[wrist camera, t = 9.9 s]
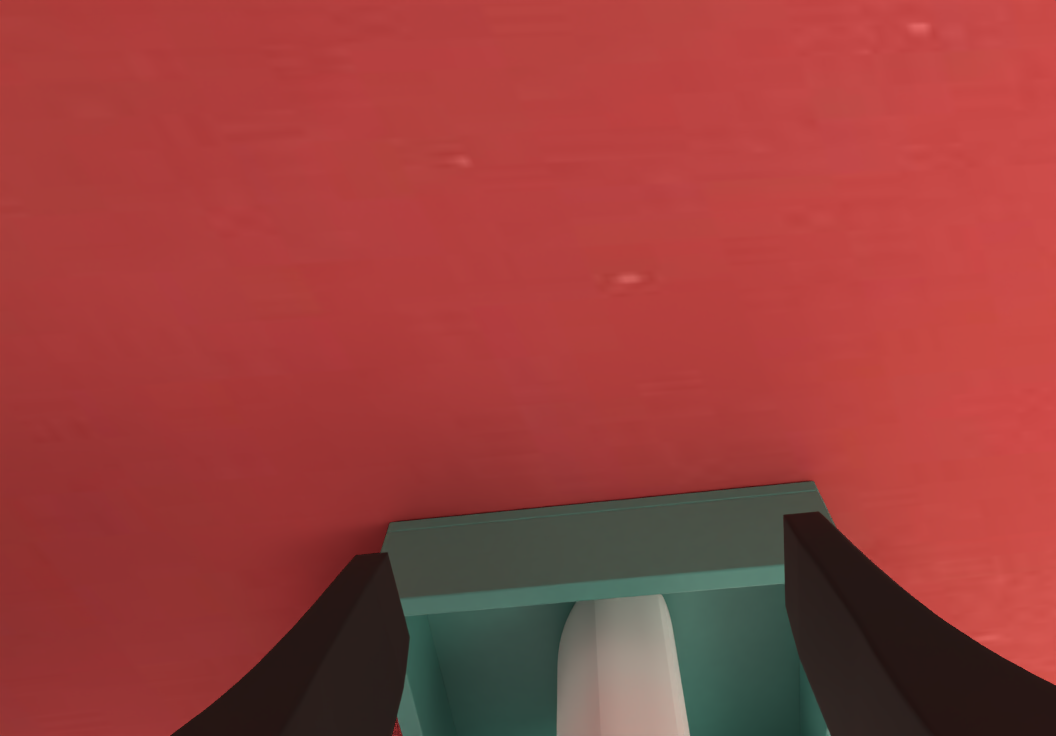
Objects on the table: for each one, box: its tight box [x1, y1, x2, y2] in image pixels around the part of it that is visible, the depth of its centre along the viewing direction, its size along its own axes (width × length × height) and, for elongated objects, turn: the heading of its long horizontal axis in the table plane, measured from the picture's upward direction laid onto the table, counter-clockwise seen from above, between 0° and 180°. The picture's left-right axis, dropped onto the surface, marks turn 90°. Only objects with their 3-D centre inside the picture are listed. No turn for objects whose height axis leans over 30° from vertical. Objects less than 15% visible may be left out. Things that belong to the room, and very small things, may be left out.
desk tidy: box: [380, 481, 836, 736], centre depth 25 cm, size 10×12×4 cm
